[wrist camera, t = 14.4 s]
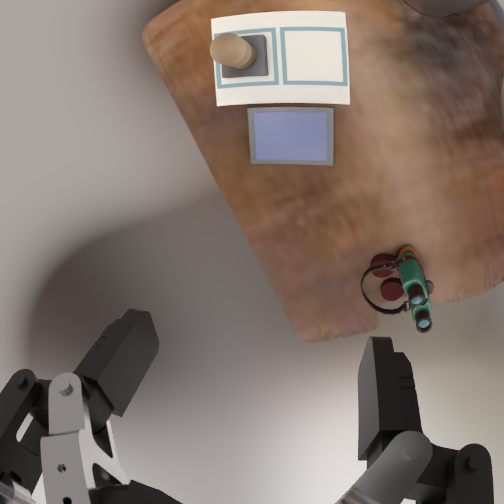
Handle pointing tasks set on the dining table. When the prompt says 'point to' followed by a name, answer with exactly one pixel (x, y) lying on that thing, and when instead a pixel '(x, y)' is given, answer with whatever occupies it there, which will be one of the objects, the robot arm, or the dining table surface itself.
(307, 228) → the dining table surface
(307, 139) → the ink pad
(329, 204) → the dining table surface
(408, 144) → the dining table surface
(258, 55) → the stamp
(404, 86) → the dining table surface
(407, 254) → the binoculars
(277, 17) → the form board
